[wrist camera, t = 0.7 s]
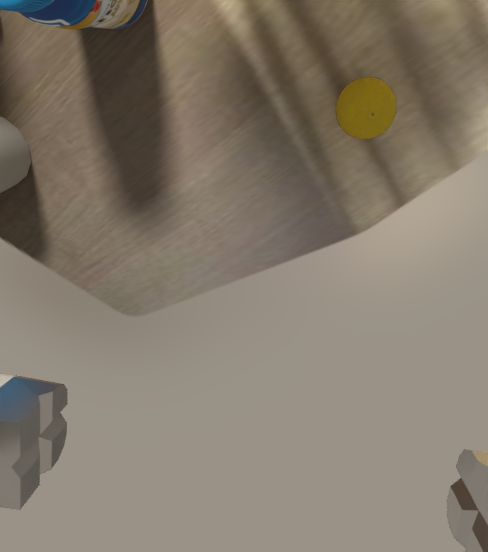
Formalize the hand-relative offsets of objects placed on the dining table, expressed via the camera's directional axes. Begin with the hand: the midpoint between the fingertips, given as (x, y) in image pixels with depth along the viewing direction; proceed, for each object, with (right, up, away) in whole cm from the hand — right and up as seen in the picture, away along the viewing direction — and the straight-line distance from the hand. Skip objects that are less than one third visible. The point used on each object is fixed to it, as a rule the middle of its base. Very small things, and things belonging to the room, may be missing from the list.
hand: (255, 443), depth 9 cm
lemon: (+12, +21, +38) cm, 45 cm away
